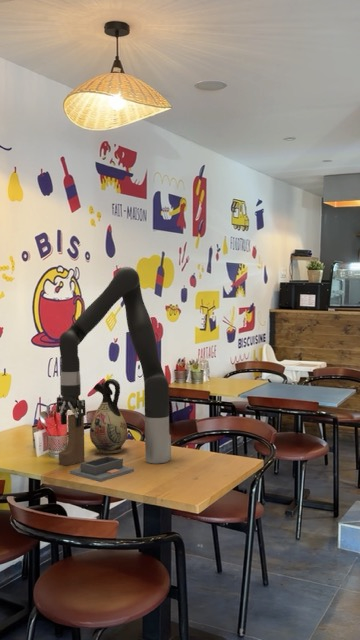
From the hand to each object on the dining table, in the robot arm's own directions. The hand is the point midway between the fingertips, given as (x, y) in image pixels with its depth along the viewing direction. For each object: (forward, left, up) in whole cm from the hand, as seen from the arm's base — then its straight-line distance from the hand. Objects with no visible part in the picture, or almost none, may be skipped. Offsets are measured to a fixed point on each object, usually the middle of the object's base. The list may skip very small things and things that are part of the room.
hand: (70, 425), depth 234 cm
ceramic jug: (-21, -1, -14) cm, 26 cm away
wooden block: (0, 0, -14) cm, 14 cm away
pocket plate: (+2, +19, -14) cm, 24 cm away
